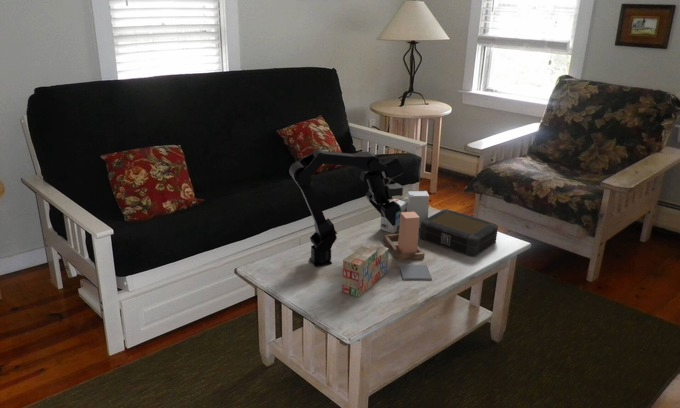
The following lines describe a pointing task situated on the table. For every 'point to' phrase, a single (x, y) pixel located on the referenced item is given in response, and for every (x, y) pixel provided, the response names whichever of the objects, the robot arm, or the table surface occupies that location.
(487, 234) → the cash box
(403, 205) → the light bulb box
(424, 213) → the skincare box
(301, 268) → the table surface
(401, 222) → the terracotta block
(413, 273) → the slate mat
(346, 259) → the stack of blocks
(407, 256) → the walnut rack
